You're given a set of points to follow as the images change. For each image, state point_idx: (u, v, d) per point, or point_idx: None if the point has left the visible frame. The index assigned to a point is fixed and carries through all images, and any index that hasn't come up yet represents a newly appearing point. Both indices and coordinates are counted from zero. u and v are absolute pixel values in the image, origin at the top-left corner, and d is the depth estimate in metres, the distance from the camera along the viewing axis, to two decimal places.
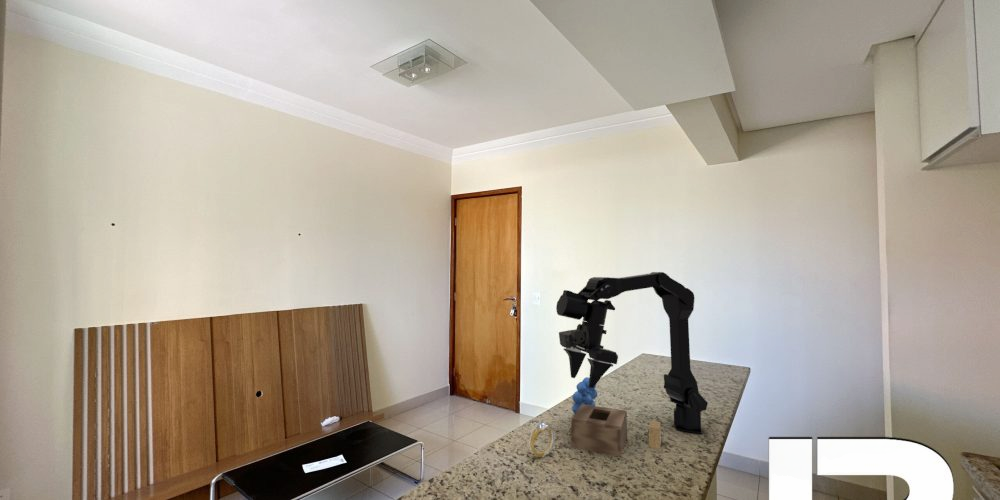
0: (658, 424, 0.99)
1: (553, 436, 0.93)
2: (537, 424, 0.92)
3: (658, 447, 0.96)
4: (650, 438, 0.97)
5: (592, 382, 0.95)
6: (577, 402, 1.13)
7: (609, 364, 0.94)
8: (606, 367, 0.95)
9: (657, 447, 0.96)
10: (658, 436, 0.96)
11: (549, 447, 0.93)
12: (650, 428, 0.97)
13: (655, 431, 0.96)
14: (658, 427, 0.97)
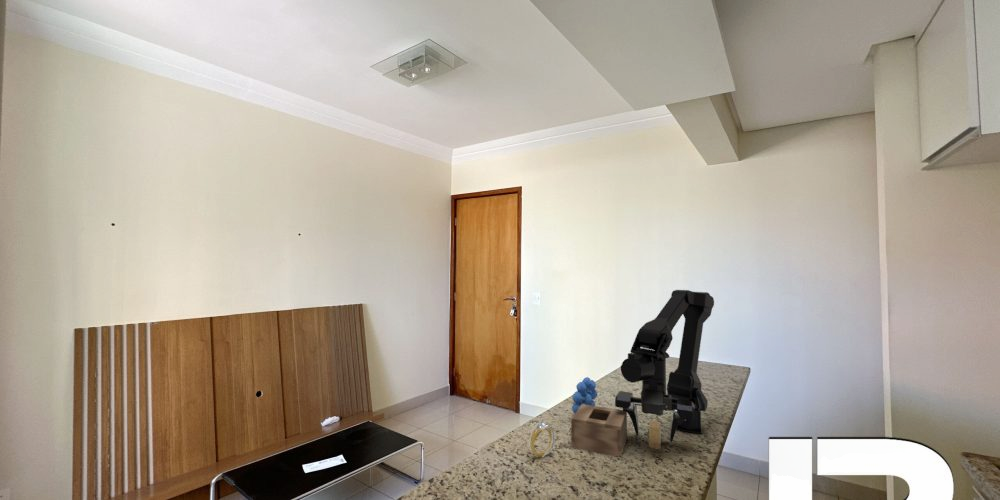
0: (658, 424, 0.99)
1: (553, 436, 0.93)
2: (537, 424, 0.92)
3: (658, 447, 0.96)
4: (650, 438, 0.97)
5: (673, 436, 0.97)
6: (577, 402, 1.13)
7: None
8: None
9: (657, 447, 0.96)
10: (658, 436, 0.96)
11: (549, 447, 0.93)
12: (650, 428, 0.97)
13: (655, 431, 0.96)
14: (658, 427, 0.97)
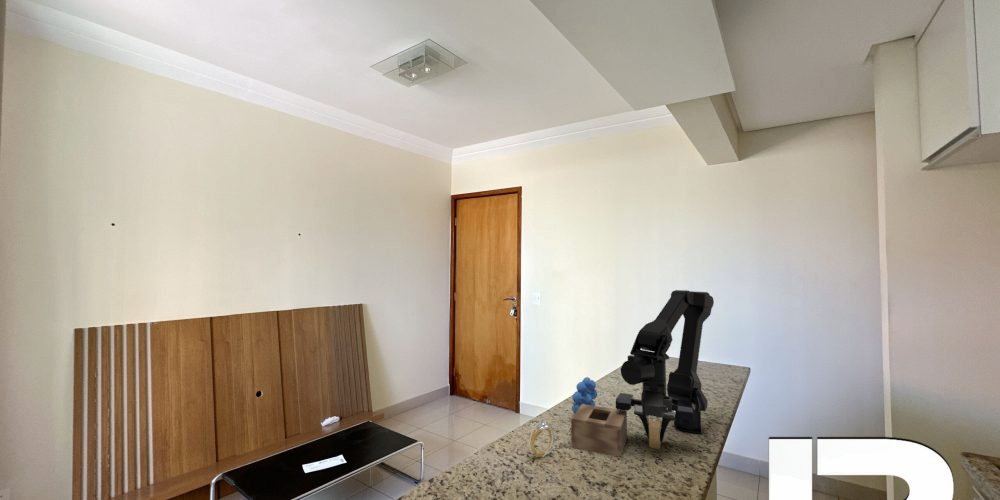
0: (658, 424, 0.99)
1: (553, 436, 0.93)
2: (537, 424, 0.92)
3: (658, 447, 0.96)
4: (650, 438, 0.97)
5: (663, 435, 0.98)
6: (577, 402, 1.13)
7: None
8: None
9: (657, 447, 0.96)
10: (658, 436, 0.96)
11: (549, 447, 0.93)
12: (650, 428, 0.97)
13: (655, 430, 0.96)
14: (658, 427, 0.97)
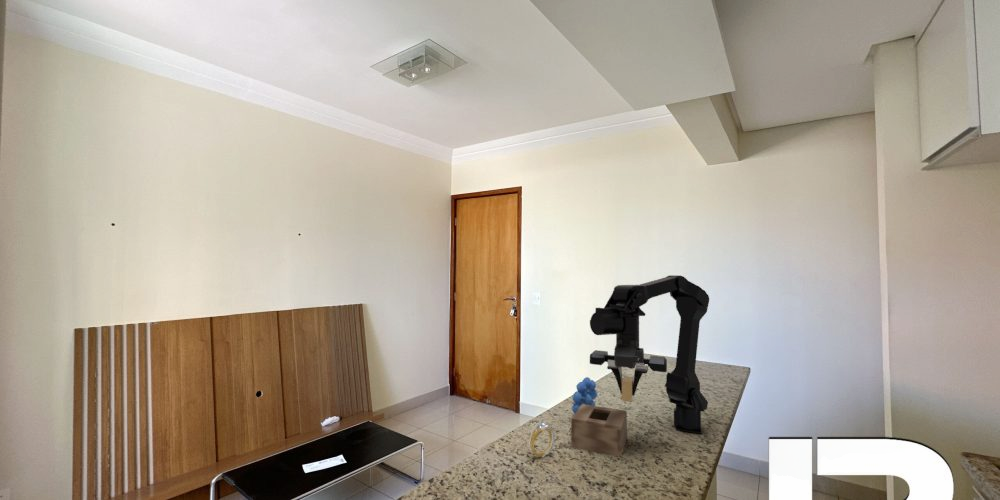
0: (631, 378, 1.00)
1: (553, 436, 0.93)
2: (537, 424, 0.92)
3: (630, 400, 0.97)
4: (623, 391, 0.98)
5: (635, 389, 0.99)
6: (577, 402, 1.13)
7: (647, 368, 1.00)
8: None
9: (629, 400, 0.97)
10: (630, 389, 0.97)
11: (549, 447, 0.93)
12: (623, 381, 0.98)
13: (628, 384, 0.97)
14: (631, 380, 0.98)
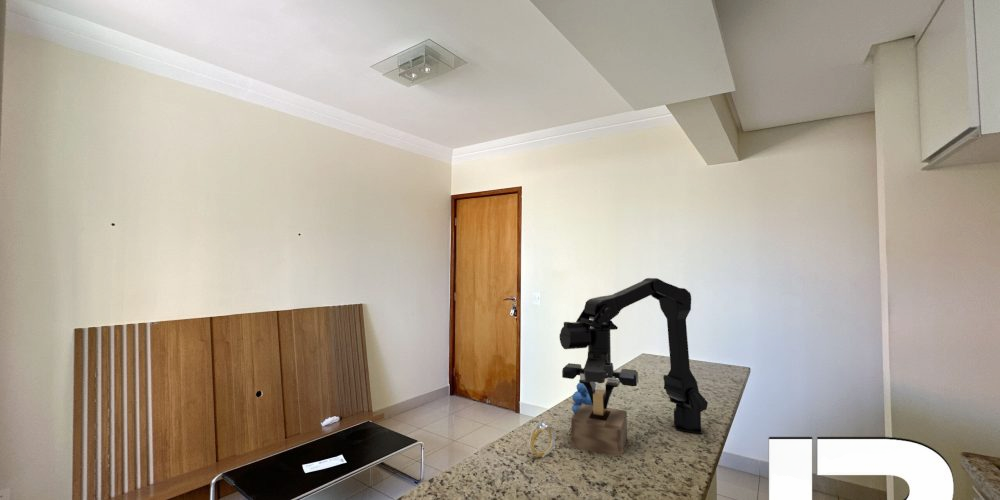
0: (603, 392, 1.00)
1: (553, 436, 0.93)
2: (537, 424, 0.92)
3: (601, 413, 0.97)
4: (594, 405, 0.98)
5: (607, 403, 0.99)
6: (577, 402, 1.13)
7: (619, 381, 1.00)
8: None
9: (600, 413, 0.97)
10: (601, 403, 0.97)
11: (549, 447, 0.93)
12: (594, 395, 0.98)
13: (599, 397, 0.98)
14: (602, 394, 0.98)
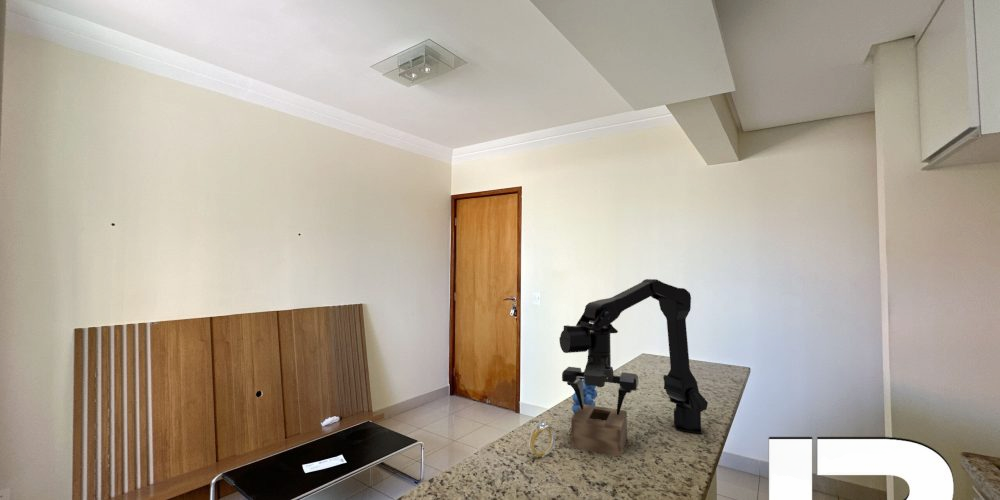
0: None
1: (553, 436, 0.93)
2: (537, 424, 0.92)
3: None
4: None
5: (620, 408, 0.98)
6: (577, 402, 1.13)
7: None
8: None
9: None
10: None
11: (549, 447, 0.93)
12: None
13: None
14: None
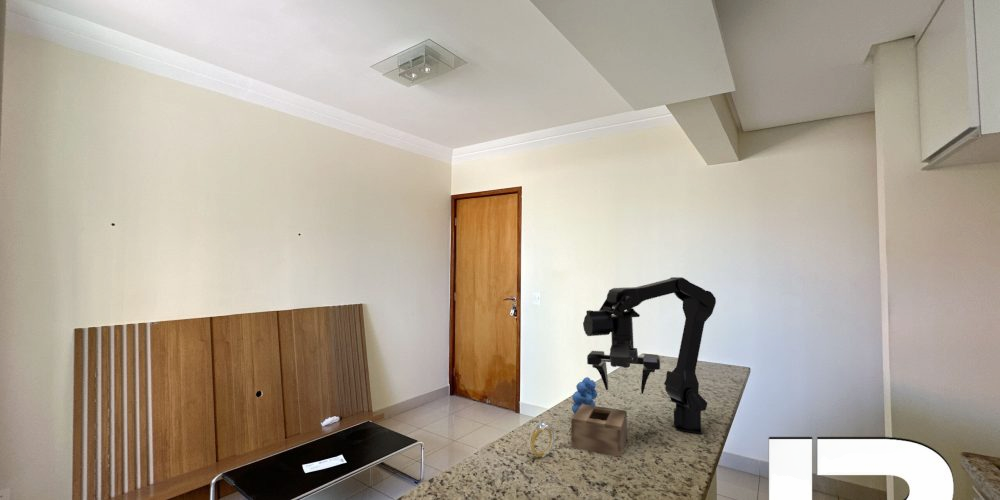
0: None
1: (553, 436, 0.93)
2: (537, 424, 0.92)
3: None
4: None
5: None
6: (577, 402, 1.13)
7: None
8: None
9: None
10: None
11: (549, 447, 0.93)
12: None
13: None
14: None
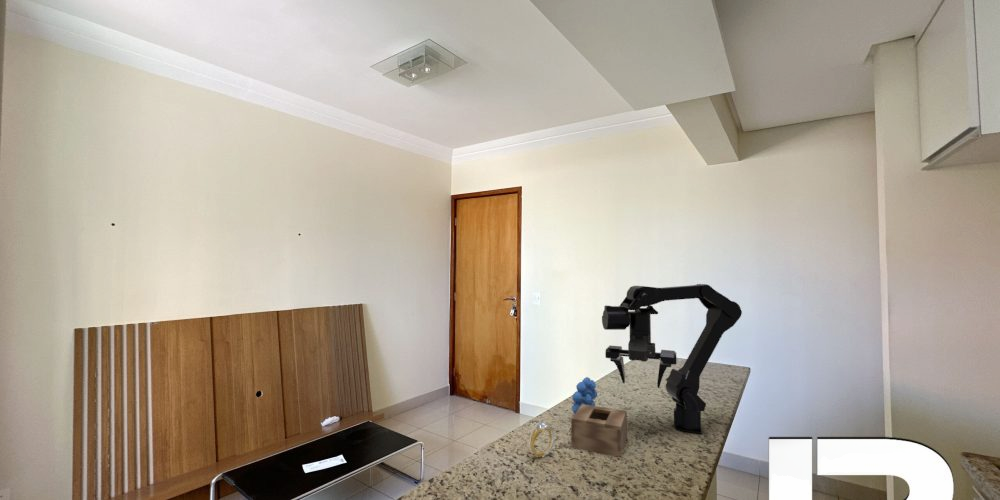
0: None
1: (553, 436, 0.93)
2: (537, 424, 0.92)
3: None
4: None
5: (660, 382, 1.07)
6: (577, 402, 1.13)
7: None
8: None
9: None
10: None
11: (549, 447, 0.93)
12: None
13: None
14: None
